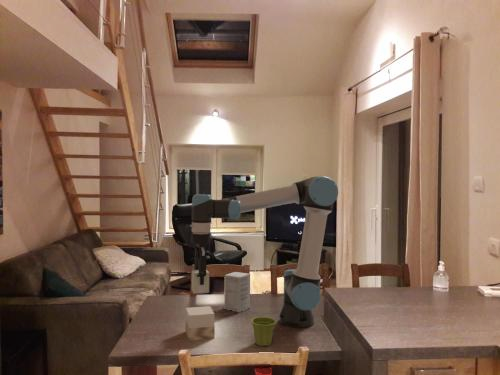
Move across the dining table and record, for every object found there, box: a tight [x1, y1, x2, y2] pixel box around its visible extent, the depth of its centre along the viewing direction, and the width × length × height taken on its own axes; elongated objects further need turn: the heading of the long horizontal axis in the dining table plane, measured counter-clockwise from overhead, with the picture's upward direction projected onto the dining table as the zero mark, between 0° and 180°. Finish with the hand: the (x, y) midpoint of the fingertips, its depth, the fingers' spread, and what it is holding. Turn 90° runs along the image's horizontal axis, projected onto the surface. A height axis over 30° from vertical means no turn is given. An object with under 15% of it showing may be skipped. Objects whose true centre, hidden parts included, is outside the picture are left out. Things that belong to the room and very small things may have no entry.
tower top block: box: [185, 305, 215, 328], centre depth 162 cm, size 10×10×5 cm
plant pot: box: [251, 316, 277, 347], centre depth 154 cm, size 9×9×9 cm
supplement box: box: [224, 271, 251, 313], centre depth 196 cm, size 10×9×17 cm
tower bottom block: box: [185, 321, 216, 342], centre depth 162 cm, size 10×10×5 cm
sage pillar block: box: [191, 268, 210, 294], centre depth 162 cm, size 6×6×8 cm
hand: (199, 290), depth 162 cm, fingers closed on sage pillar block, 6 cm apart
